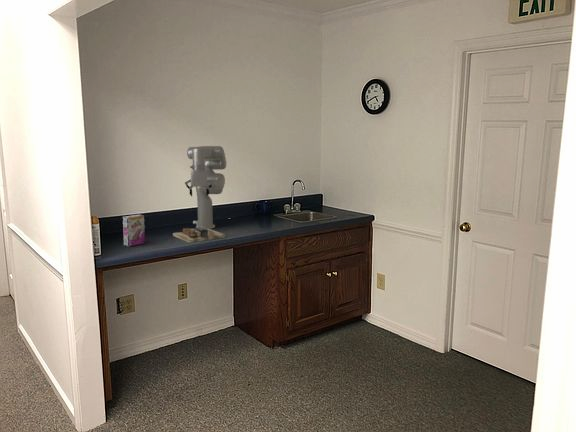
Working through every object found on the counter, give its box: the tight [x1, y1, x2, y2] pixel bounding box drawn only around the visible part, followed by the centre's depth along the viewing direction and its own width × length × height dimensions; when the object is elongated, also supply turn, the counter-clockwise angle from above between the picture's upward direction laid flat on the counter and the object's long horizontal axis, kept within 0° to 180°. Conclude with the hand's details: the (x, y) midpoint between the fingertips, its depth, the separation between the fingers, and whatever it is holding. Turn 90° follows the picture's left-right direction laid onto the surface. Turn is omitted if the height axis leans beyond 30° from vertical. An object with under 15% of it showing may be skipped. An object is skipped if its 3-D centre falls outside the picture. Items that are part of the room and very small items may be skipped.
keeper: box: [195, 227, 208, 238], centre depth 291 cm, size 4×9×5 cm, turn 37°
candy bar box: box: [122, 214, 146, 247], centre depth 276 cm, size 11×5×16 cm, turn 141°
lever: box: [182, 227, 197, 238], centre depth 294 cm, size 18×4×5 cm, turn 27°
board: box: [172, 229, 227, 243], centre depth 298 cm, size 24×22×2 cm
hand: (199, 195), depth 303 cm, fingers open, 9 cm apart
